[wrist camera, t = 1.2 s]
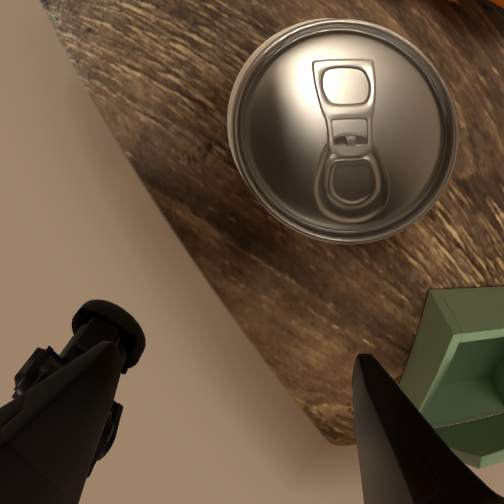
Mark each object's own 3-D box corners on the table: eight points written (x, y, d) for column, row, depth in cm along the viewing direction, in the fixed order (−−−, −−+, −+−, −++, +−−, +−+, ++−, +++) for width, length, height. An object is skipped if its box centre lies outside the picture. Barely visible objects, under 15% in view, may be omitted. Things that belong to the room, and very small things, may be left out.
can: (266, 167, 19) (233, 267, 9) (253, 63, 16) (194, 17, 6) (372, 161, 18) (463, 252, 8) (363, 57, 15) (462, 14, 5)
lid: (481, 456, 11) (479, 469, 10) (595, 407, 9) (594, 418, 9) (408, 432, 22) (407, 440, 22) (508, 411, 21) (508, 418, 20)
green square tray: (428, 289, 22) (453, 334, 17) (532, 283, 20) (562, 318, 16) (397, 388, 27) (407, 432, 22) (490, 374, 26) (507, 411, 21)
